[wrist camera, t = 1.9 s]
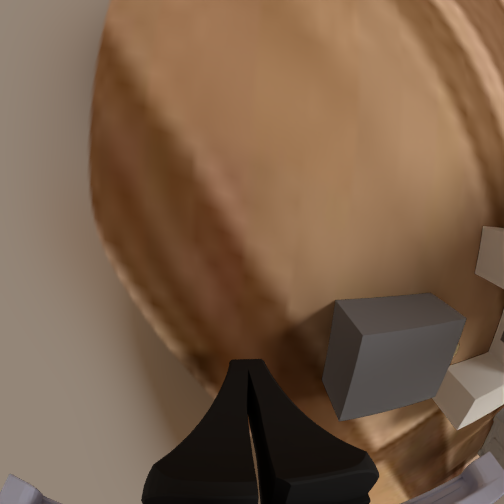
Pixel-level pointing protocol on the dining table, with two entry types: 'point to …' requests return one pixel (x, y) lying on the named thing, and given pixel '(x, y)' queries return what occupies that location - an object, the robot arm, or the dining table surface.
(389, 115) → the dining table surface
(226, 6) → the dining table surface
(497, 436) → the light switch
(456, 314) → the plug
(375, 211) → the dining table surface
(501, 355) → the socket block
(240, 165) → the dining table surface
